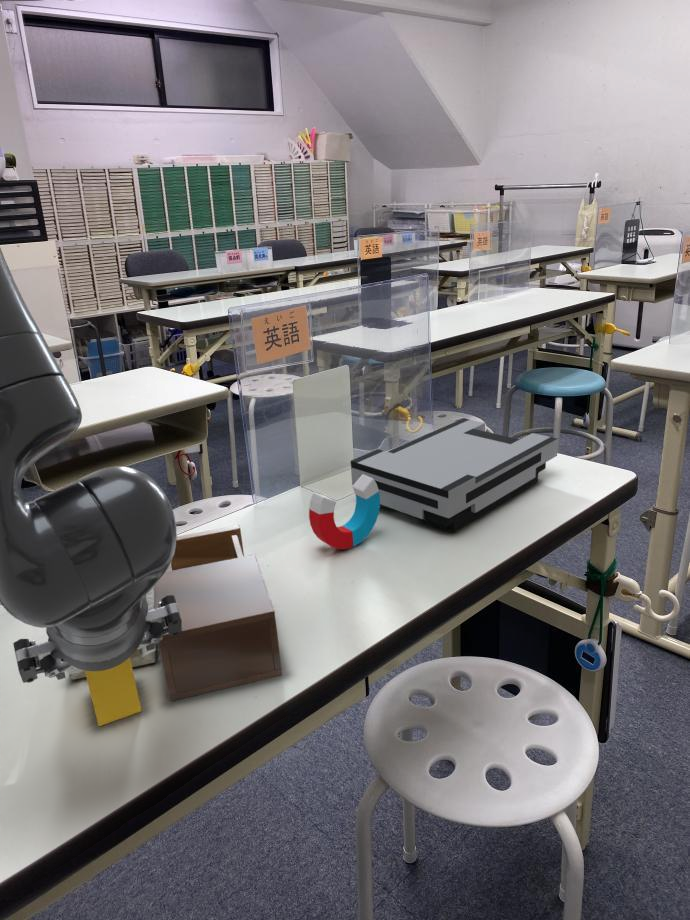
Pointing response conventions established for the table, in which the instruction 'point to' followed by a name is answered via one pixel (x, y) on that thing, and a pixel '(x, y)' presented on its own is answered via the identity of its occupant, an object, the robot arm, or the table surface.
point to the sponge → (113, 693)
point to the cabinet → (219, 628)
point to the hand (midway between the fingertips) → (104, 654)
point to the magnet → (359, 522)
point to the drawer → (207, 547)
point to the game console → (455, 472)
